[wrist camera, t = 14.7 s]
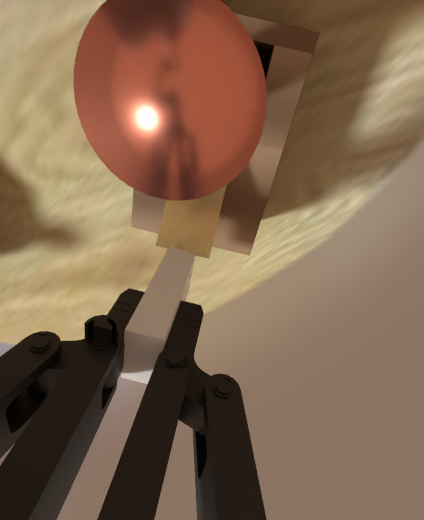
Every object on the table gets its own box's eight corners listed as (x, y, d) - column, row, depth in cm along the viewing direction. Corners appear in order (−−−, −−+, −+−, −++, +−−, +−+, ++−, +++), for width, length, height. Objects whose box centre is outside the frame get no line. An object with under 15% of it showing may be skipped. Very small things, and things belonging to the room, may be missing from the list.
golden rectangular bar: (177, 154, 18) (175, 150, 17) (232, 168, 18) (233, 164, 17) (157, 244, 18) (154, 245, 17) (210, 257, 18) (210, 258, 17)
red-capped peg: (200, 31, 18) (67, -46, 6) (272, 47, 18) (296, 7, 6) (189, 110, 21) (78, 179, 8) (252, 125, 21) (239, 217, 8)
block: (172, 9, 18) (145, -8, 14) (306, 40, 18) (319, 32, 14) (153, 199, 25) (131, 226, 20) (251, 222, 24) (249, 255, 20)
